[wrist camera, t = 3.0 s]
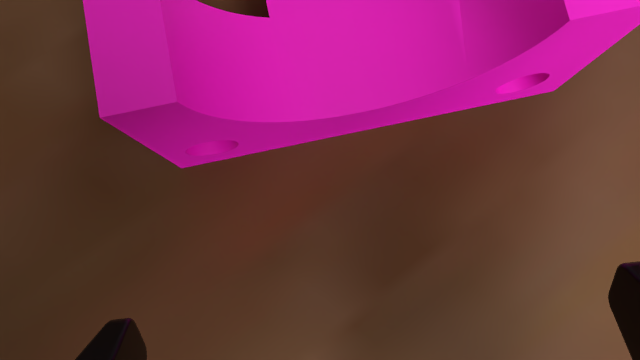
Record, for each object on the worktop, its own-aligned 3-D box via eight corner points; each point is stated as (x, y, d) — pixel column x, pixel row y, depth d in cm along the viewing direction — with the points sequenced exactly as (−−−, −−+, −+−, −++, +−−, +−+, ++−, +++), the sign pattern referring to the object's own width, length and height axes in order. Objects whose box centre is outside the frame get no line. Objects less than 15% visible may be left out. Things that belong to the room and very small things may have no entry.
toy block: (510, -49, 22) (601, -208, 14) (551, 92, 21) (671, -1, 14) (158, 24, 22) (68, -99, 14) (182, 169, 21) (99, 117, 13)
